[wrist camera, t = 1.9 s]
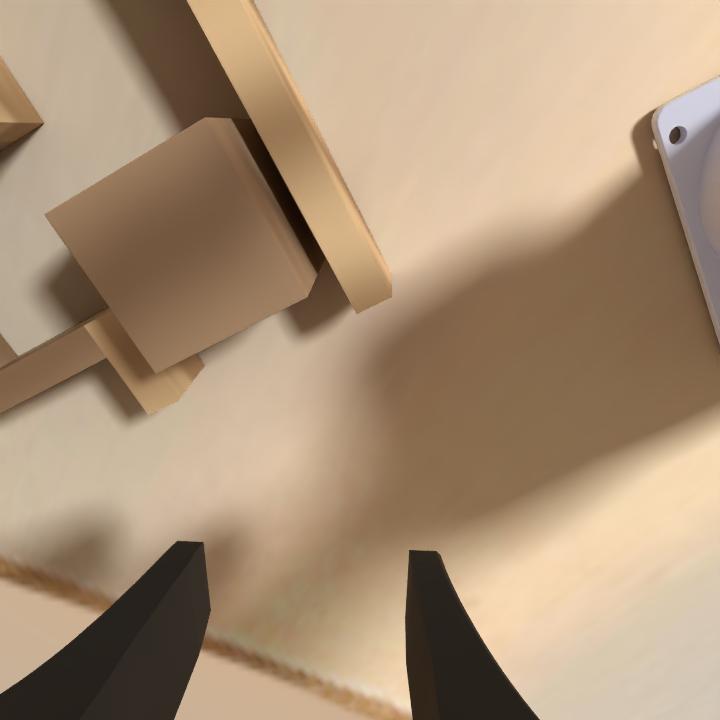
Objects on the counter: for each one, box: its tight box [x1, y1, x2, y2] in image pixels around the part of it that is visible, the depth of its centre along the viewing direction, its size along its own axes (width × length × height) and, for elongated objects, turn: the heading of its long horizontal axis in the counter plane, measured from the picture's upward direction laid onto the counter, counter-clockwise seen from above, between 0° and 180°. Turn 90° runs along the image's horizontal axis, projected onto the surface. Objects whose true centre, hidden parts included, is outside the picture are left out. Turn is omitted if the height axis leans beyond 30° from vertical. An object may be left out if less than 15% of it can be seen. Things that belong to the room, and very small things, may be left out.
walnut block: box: [44, 117, 325, 373], centre depth 17 cm, size 5×5×5 cm
